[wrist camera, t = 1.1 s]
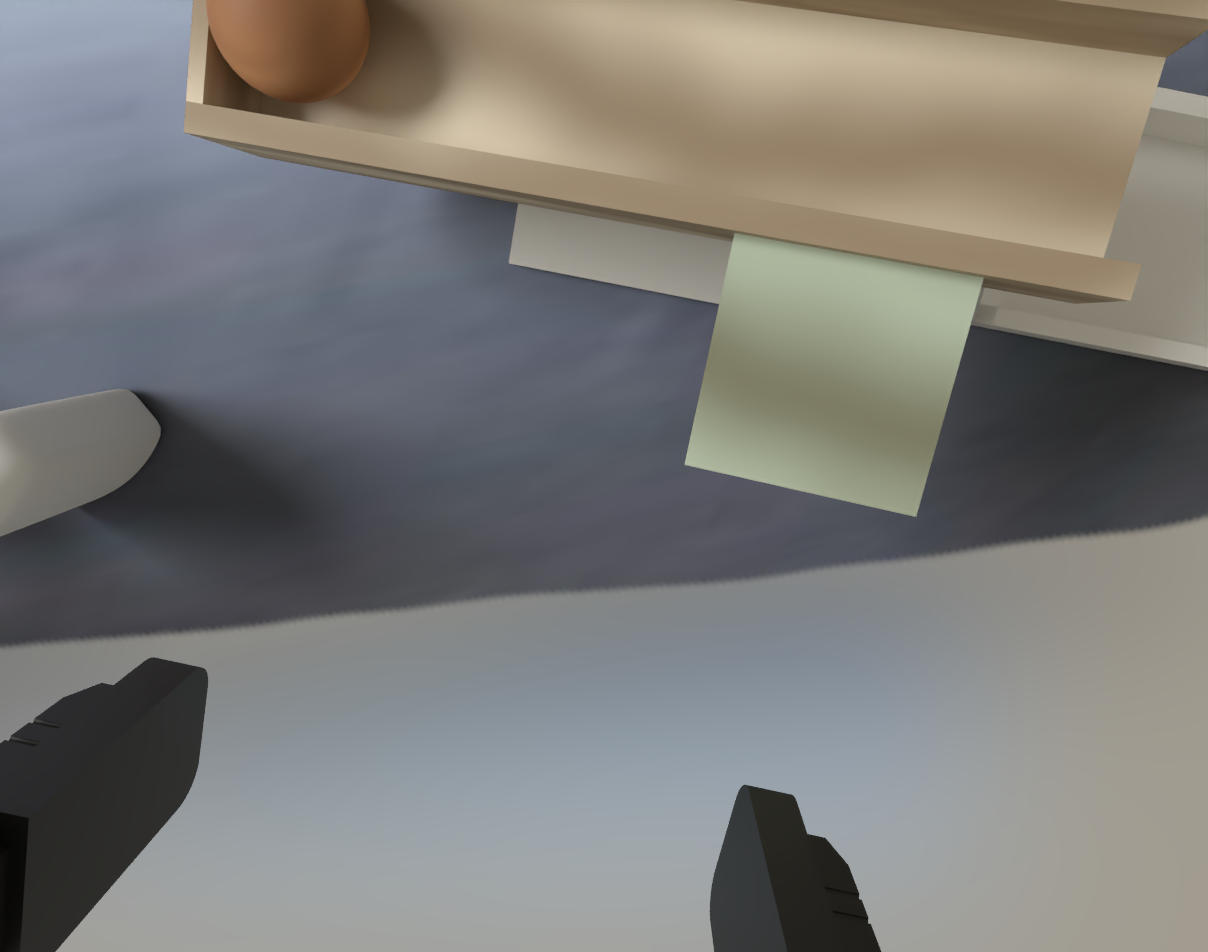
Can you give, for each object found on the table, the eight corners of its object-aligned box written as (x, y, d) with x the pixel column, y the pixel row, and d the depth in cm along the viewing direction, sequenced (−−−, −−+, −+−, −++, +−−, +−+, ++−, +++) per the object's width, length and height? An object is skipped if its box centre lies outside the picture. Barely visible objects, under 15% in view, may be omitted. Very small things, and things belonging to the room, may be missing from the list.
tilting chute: (319, -49, 26) (203, -143, 21) (1125, 60, 22) (1234, -21, 17) (279, 347, 29) (168, 353, 24) (990, 503, 25) (1049, 552, 20)
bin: (998, 92, 29) (1048, 65, 26) (1301, 151, 29) (1391, 133, 26) (936, 318, 31) (974, 321, 27) (1222, 374, 31) (1296, 384, 28)
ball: (273, -42, 23) (175, -113, 20) (404, -24, 23) (329, -94, 19) (260, 107, 24) (164, 67, 20) (385, 128, 24) (310, 91, 20)
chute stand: (558, -28, 29) (538, -117, 22) (783, 17, 29) (826, -60, 23) (511, 264, 31) (482, 257, 25) (721, 304, 31) (744, 307, 25)
